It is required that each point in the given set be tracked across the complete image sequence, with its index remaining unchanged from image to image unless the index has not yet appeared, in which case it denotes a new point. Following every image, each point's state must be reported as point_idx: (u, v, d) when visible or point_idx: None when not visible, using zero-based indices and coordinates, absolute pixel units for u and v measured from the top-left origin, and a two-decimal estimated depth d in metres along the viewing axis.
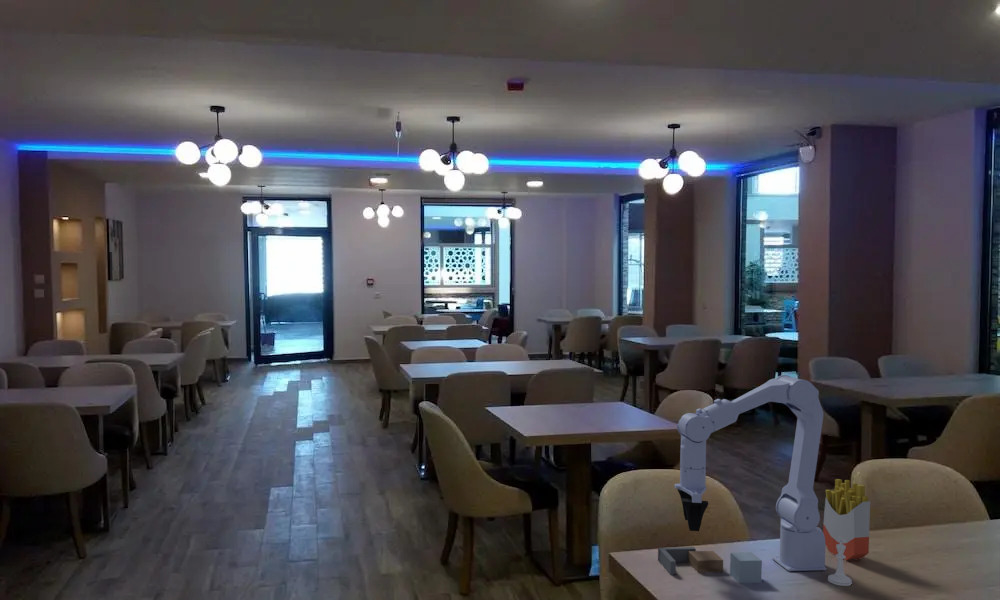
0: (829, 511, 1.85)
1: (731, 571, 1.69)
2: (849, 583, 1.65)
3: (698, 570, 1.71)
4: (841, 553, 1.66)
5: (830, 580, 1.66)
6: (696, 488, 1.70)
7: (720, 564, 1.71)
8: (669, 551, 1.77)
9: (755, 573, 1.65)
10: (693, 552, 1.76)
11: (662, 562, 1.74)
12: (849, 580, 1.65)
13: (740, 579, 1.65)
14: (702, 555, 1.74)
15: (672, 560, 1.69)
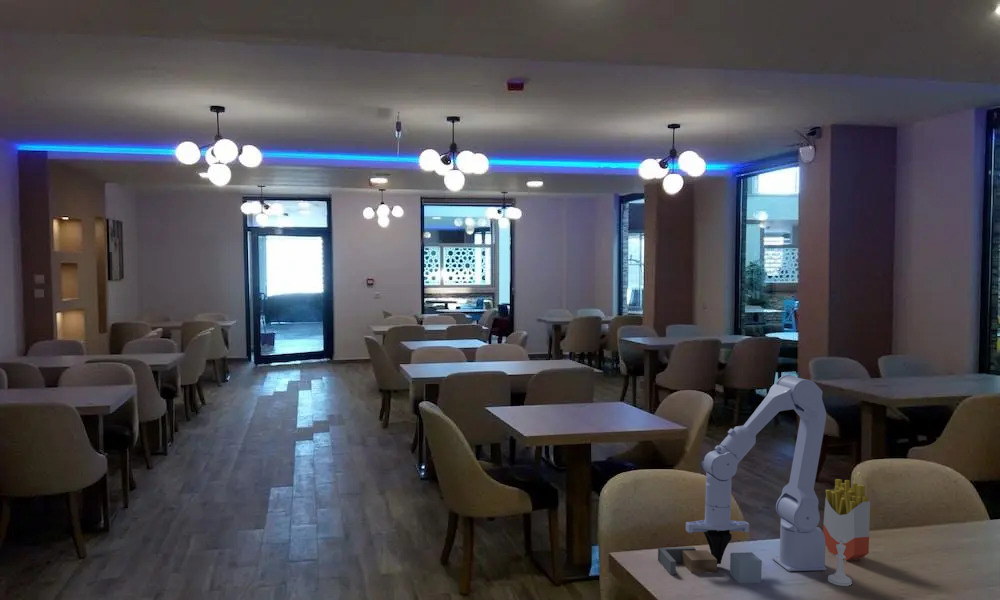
0: (829, 511, 1.85)
1: (731, 571, 1.69)
2: (849, 583, 1.65)
3: (692, 569, 1.70)
4: (841, 553, 1.66)
5: (830, 580, 1.66)
6: (706, 523, 1.73)
7: (714, 563, 1.71)
8: (669, 551, 1.77)
9: (755, 573, 1.65)
10: (687, 551, 1.75)
11: (662, 562, 1.74)
12: (849, 580, 1.65)
13: (740, 579, 1.65)
14: (696, 554, 1.74)
15: (672, 560, 1.69)
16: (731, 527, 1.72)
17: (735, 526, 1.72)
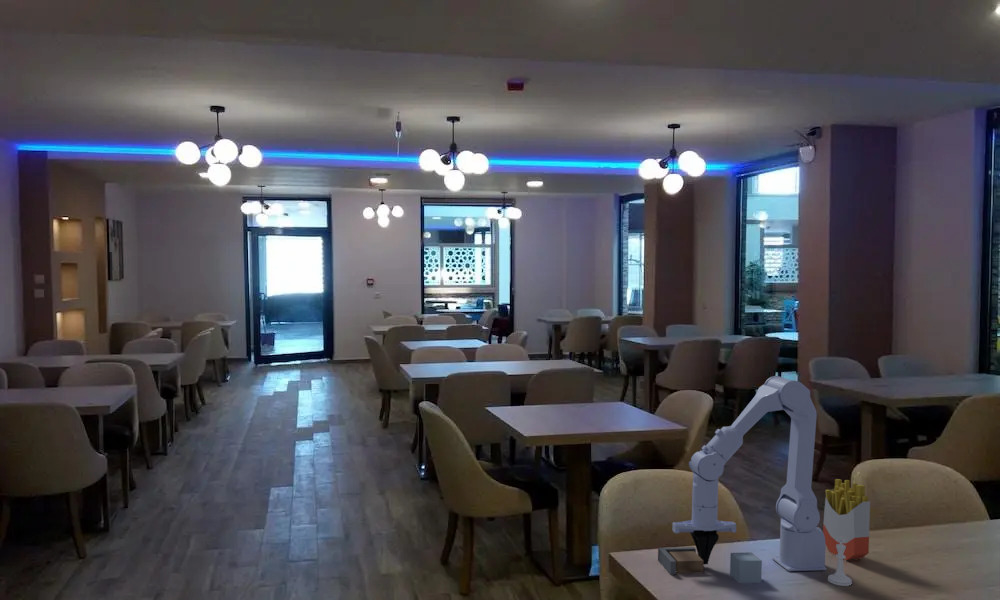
0: (829, 511, 1.85)
1: (731, 571, 1.69)
2: (849, 583, 1.65)
3: (678, 571, 1.70)
4: (841, 553, 1.66)
5: (830, 580, 1.66)
6: (693, 523, 1.73)
7: (700, 564, 1.71)
8: (669, 551, 1.77)
9: (755, 573, 1.65)
10: (674, 553, 1.75)
11: (662, 562, 1.74)
12: (849, 580, 1.65)
13: (740, 579, 1.65)
14: (683, 555, 1.74)
15: (672, 560, 1.69)
16: (718, 528, 1.71)
17: (722, 526, 1.72)
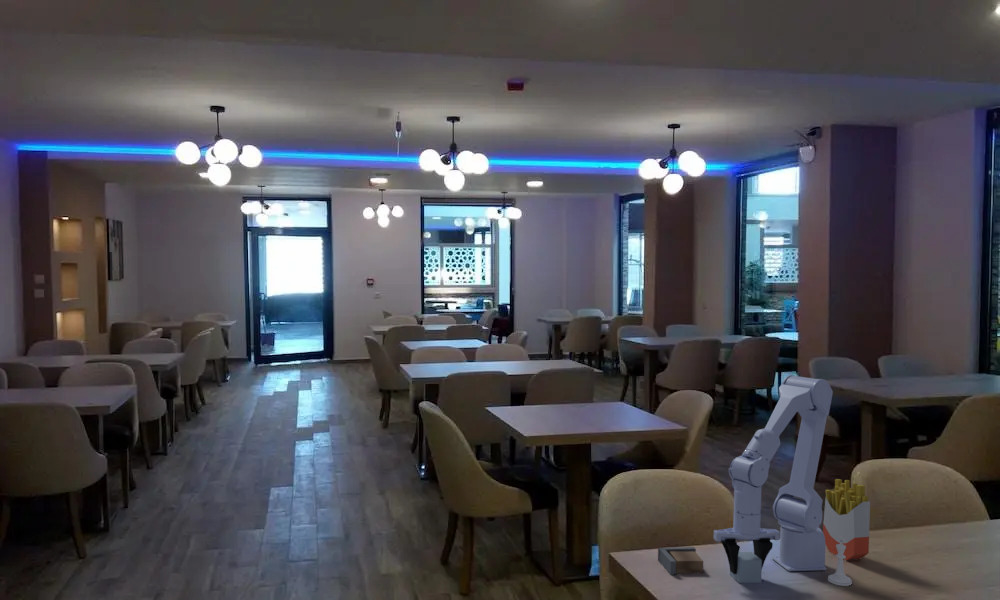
0: (829, 511, 1.85)
1: (730, 571, 1.69)
2: (849, 583, 1.65)
3: (677, 570, 1.70)
4: (841, 553, 1.66)
5: (830, 580, 1.66)
6: (735, 531, 1.67)
7: (700, 565, 1.70)
8: (669, 551, 1.77)
9: (755, 573, 1.65)
10: (674, 552, 1.75)
11: (662, 562, 1.74)
12: (849, 580, 1.65)
13: (740, 579, 1.65)
14: (683, 555, 1.74)
15: (672, 560, 1.69)
16: (761, 536, 1.65)
17: (765, 534, 1.66)
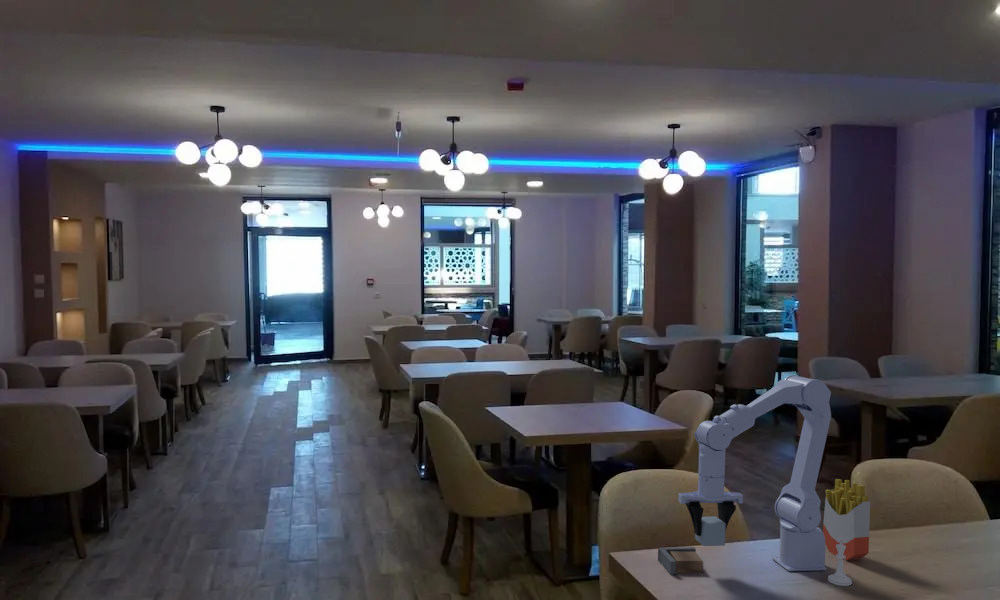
0: (829, 511, 1.85)
1: (695, 535, 1.72)
2: (849, 583, 1.65)
3: (677, 570, 1.70)
4: (841, 553, 1.66)
5: (830, 580, 1.66)
6: (699, 494, 1.70)
7: (699, 565, 1.70)
8: (669, 551, 1.77)
9: (719, 536, 1.68)
10: (674, 552, 1.75)
11: (662, 562, 1.74)
12: (849, 580, 1.65)
13: (704, 542, 1.68)
14: (683, 555, 1.74)
15: (672, 560, 1.69)
16: (725, 498, 1.69)
17: (729, 497, 1.69)
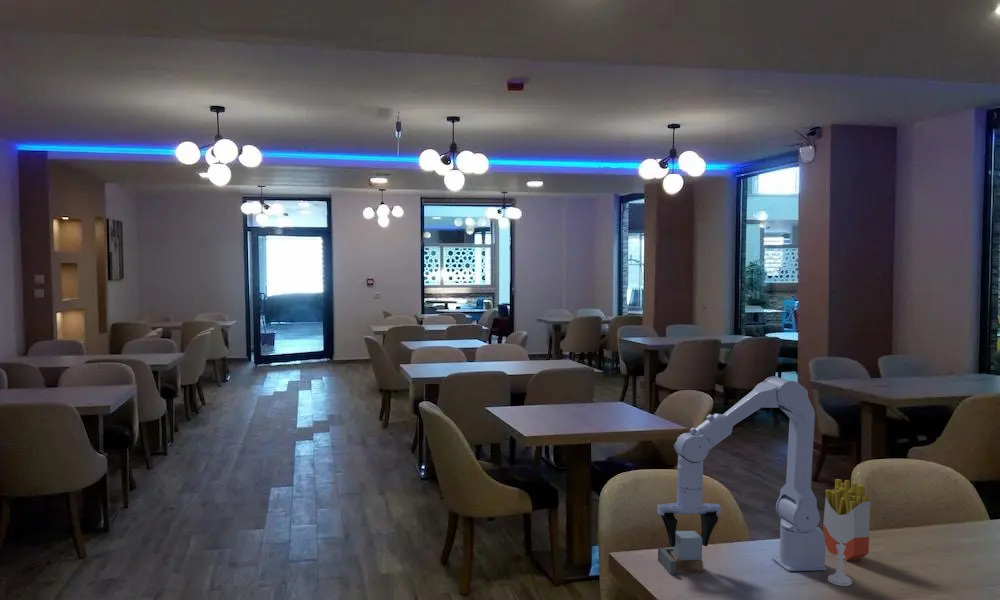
0: (829, 511, 1.85)
1: (674, 549, 1.75)
2: (849, 583, 1.65)
3: (676, 570, 1.70)
4: (841, 553, 1.66)
5: (830, 580, 1.66)
6: (677, 505, 1.72)
7: (699, 565, 1.70)
8: (669, 551, 1.77)
9: (696, 550, 1.71)
10: None
11: (662, 562, 1.74)
12: (849, 580, 1.65)
13: (681, 556, 1.71)
14: None
15: (672, 560, 1.69)
16: (703, 510, 1.71)
17: (707, 508, 1.72)
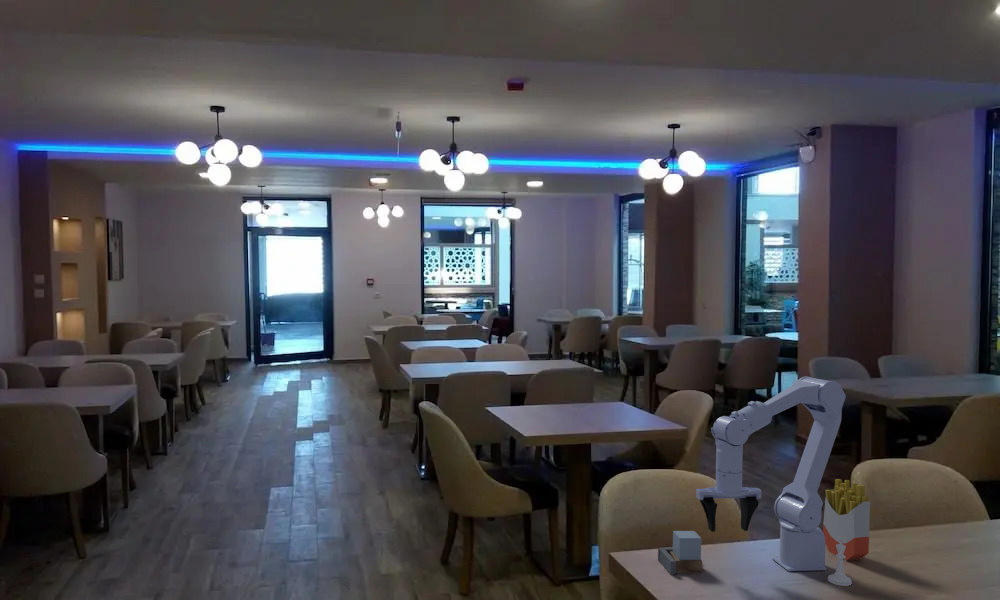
0: (829, 511, 1.85)
1: (673, 549, 1.75)
2: (849, 583, 1.65)
3: (676, 570, 1.70)
4: (841, 553, 1.66)
5: (830, 580, 1.66)
6: (717, 489, 1.70)
7: (699, 565, 1.70)
8: (669, 551, 1.77)
9: (695, 550, 1.71)
10: None
11: (662, 562, 1.74)
12: (849, 580, 1.65)
13: (680, 556, 1.71)
14: None
15: (672, 560, 1.69)
16: (743, 494, 1.68)
17: (747, 492, 1.69)
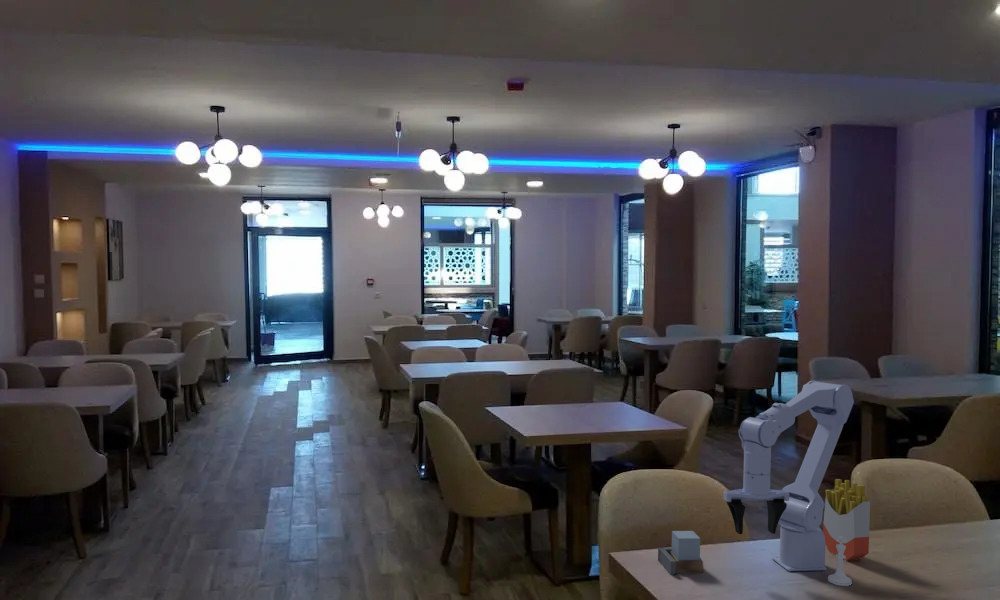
0: (829, 511, 1.85)
1: (672, 549, 1.75)
2: (849, 583, 1.65)
3: (677, 570, 1.70)
4: (841, 553, 1.66)
5: (830, 580, 1.66)
6: (744, 491, 1.68)
7: (699, 565, 1.70)
8: (669, 551, 1.77)
9: (694, 550, 1.71)
10: None
11: (662, 562, 1.74)
12: (849, 580, 1.65)
13: (679, 556, 1.71)
14: None
15: (672, 560, 1.69)
16: (771, 496, 1.66)
17: (775, 495, 1.67)
